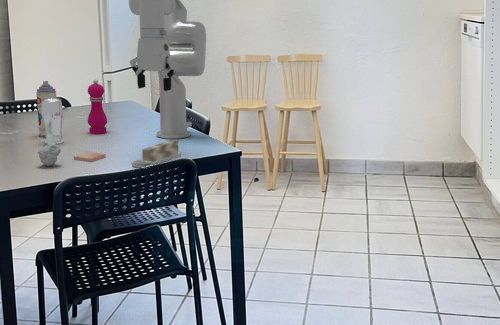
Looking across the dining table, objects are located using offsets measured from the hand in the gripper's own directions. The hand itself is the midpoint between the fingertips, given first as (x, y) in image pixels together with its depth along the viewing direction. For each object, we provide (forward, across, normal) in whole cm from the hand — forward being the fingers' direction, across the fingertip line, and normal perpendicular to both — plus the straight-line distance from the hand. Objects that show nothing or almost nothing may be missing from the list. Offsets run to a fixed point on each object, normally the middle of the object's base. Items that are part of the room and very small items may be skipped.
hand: (154, 89), depth 207 cm
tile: (+21, +17, +9) cm, 29 cm away
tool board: (+22, -4, +6) cm, 23 cm away
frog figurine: (+22, +21, +26) cm, 40 cm away
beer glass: (+23, +43, 0) cm, 48 cm away
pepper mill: (+23, +40, -21) cm, 51 cm away
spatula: (+21, -4, +6) cm, 22 cm away
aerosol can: (+23, +53, -8) cm, 58 cm away
